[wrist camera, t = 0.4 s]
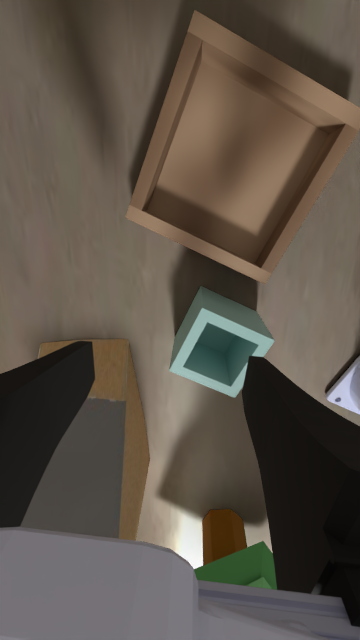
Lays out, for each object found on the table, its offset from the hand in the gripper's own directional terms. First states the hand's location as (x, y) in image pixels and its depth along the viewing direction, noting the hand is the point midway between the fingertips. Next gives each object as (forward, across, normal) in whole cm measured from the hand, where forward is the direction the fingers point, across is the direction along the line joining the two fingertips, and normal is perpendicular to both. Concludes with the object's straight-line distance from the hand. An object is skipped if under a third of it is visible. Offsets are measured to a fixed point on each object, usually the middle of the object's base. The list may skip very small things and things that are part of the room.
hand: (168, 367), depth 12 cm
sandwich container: (+10, +7, +12) cm, 17 cm away
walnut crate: (+9, -3, -9) cm, 13 cm away
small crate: (+9, -3, +2) cm, 10 cm away
